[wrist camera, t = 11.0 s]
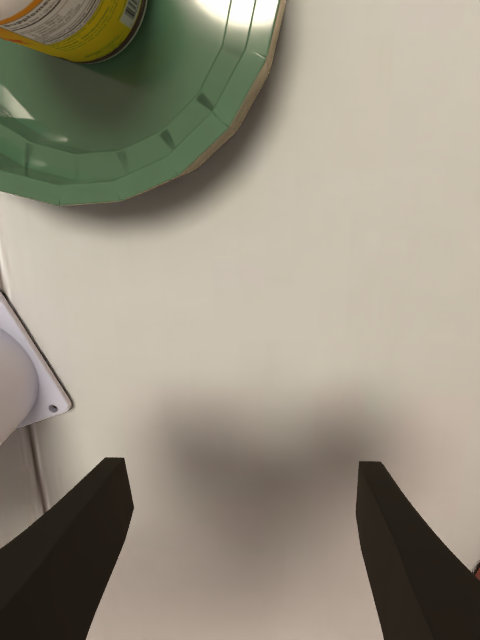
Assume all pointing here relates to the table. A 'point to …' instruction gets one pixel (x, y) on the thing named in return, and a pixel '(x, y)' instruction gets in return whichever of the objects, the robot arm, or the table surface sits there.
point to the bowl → (133, 102)
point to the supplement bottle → (72, 26)
